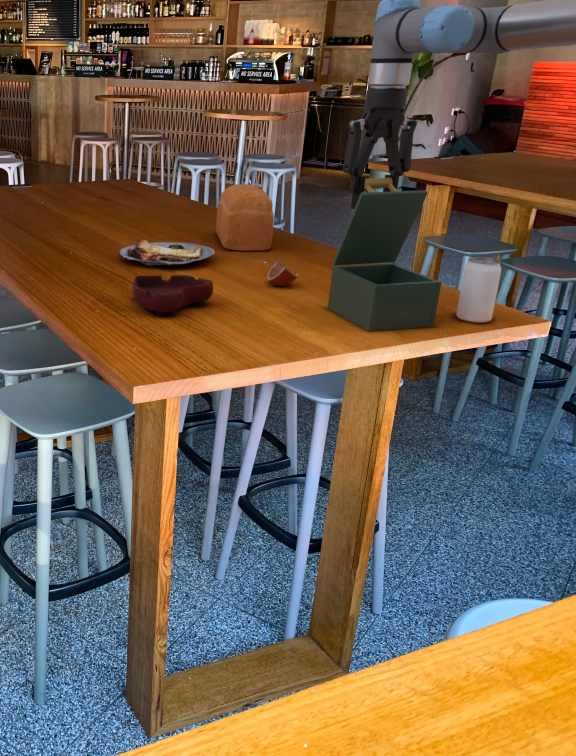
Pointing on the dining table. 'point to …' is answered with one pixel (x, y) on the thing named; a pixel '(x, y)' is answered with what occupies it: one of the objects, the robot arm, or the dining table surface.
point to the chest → (384, 296)
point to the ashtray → (170, 292)
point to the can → (479, 290)
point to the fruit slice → (280, 275)
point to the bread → (245, 218)
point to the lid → (379, 224)
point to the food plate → (165, 253)
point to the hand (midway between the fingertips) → (371, 208)
